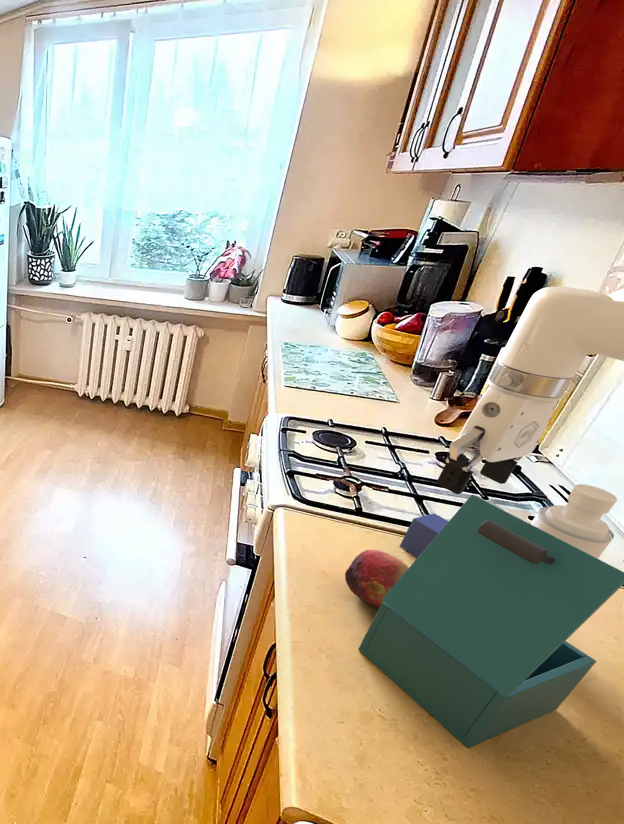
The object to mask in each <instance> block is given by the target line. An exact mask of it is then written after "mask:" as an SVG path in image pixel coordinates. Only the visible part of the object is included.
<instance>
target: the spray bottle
mask: <svg viewBox="0 0 624 824" xmlns="http://www.w3.org/2000/svg"><path fill="white" fill-rule="evenodd" d="M617 501H618V498H617V496H616V495H614V494H613V493H611V492H610V491H608V490H606V489H603V488H600V487H597V486H593V485H589V484H579V483H578V484H576V485H574V487H573V489H572V490H571V491H570V493H569V495H568V496H567V503H566V505H558V504H557V505H551V506H543V507H541V508H540V509H538V511H537V512H536V515H534V518H533V519H532V521H531V522H530V524H531V525H533V526H535V527H537V528H539V529H541V530H543V531H545V532H547V533H549V534H551V535H553V536H555V537H556V538H558V539H560V540H562V541H564V542H566V543H568V544H570V545H572V546H574V547H576V548H578V549H580V550H582V551H584V552H586V553H588V554H590V555H591V556H593V557H595V558H597V559H600V557H601V556H602V554H603V553H604V551H605V550H606V549H607V547H608V546H609V544H610V543H611V542H612V540H613V539H614V537H615V534H614V532H613V531H612V530H611V529H610V526H609V525H608V524H607V523H606V522H605V521H604V520H602V519H601V518H602V517H603V516H604V515H606V514H609V512H610V511H611V510H612V508H613V507H614V505H615V503H616V502H617Z"/></svg>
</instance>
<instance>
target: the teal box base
mask: <svg viewBox="0 0 624 824" xmlns="http://www.w3.org/2000/svg"><path fill="white" fill-rule="evenodd" d="M357 650H358V652H360V653H361V654H362V655H364V657H366V658H367V659H368V660H369V661H370V662H371V663H372V664H373V665H375V667H377V669H379V670H380V671H381V672H382V673H383V674H384V675H386V676H387V677H388V678H389V679H390V680H391V681H392V682H393V683H394V684H396V685H397V686H398V687H399V688H400V689H401V690H402V691H403V692H405V693H406V694H407V695H408V696H409V697H410V698H411V699H412V700H413V701H415V702H416V703H417V704H418V705H419V706H420V707H421V708H423V709H424V711H425V712H427V713H428V714H429V715H430V716H431V717H432V718H433V719H434V720H436V721H437V722H438V723H439V724H440V725H441V726H443V728H445V729H446V730H447V731H448V732H449V733H451V734H452V736H453V737H455V739H457V740H458V741H459V742H460V743H462V745H463V746H465V747H466V748H467V749H470V748H472V747H474V746H477V745H478V744H481V743H483V742H486V741H488V740H490V739H493V738H495V737H497V736H499V735H501V734H504V733H507V732H508V731H511V730H513V729H515V728H518V727H520V726H522V725H524V724H527V723H529V722H532V721H534V720H536V719H538V718H540V717H543V716H545V715H548V714H550V713H552V712H554V711H556V710H558V708H560V706H561V705H562V704H563V702H564V701H565V700H566V699H567V698H568V696H570V694H571V693H572V692H573V691H574V689H575V688H576V687H577V685H579V683H580V682H581V681H582V680H583V679H584V677H585V676H586V675H587V673H588V672H589V671H590V670H591V669H592V667H594V665H595V664H596V663H597V660H596V659H594V658H593V657H591V656H590V655H588V654H587V653H586V652H583V651H582V650H580V649H579V648H577V647H576V646H574V645H573V644H571V643H570V642H568V641H567V640H566V641H565V642H564V643H563V644H562V645H561V646H560V647H559V648H558V649H556V650H555V651H554V652H553V653H552V654H551V655H550V656H549V657H548V658H547V659H546V660H545V661H544V662H543V663H542V664H541V665H540V666H539V667H538V668H537V669H536V670H535V671H534V672H533V673H532V674H531V675H530V676H529V677H528V678H527V679H526V680H525V681H524V682H523V683H521V684H520V685H519V686H518V687H517V688H516V689H515V690H514V691H513V692H512V693H511V694H510V695H509V696H506V695H504V694H503V693H502V692H501V691H499V690H498V689H497V688H495V687H494V686H493V685H491V684H490V683H489V682H488V681H486V680H485V679H484V678H482V677H481V676H480V675H479V674H477V673H476V672H475V671H473V670H472V669H471V668H470V667H468V666H467V665H466V664H464V663H463V662H462V661H460V660H459V659H458V658H457V657H455V656H454V655H453V654H451V653H450V652H449V651H448V650H446V649H445V648H444V647H442V646H441V645H440V644H439V643H437V642H436V641H435V640H433V639H432V638H431V637H430V636H428V635H427V634H426V633H424V632H423V631H422V630H420V629H419V628H418V627H417V626H415V625H414V624H413V623H411V622H410V621H409V620H408V619H406V618H405V617H404V616H402V615H401V614H400V613H399V612H397V611H396V610H395V609H393V608H392V607H391V606H389V605H388V604H387V603H386V602H382V604H381V606H380V607H378V610H377V612H376V613H375V616H374V618H373V619H372V621H371V624H370V625H369V627H368V629H367V631H366V634H365V635H364V637H363V639H362V640H361V643H360V645H359V646H358V649H357Z"/></svg>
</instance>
